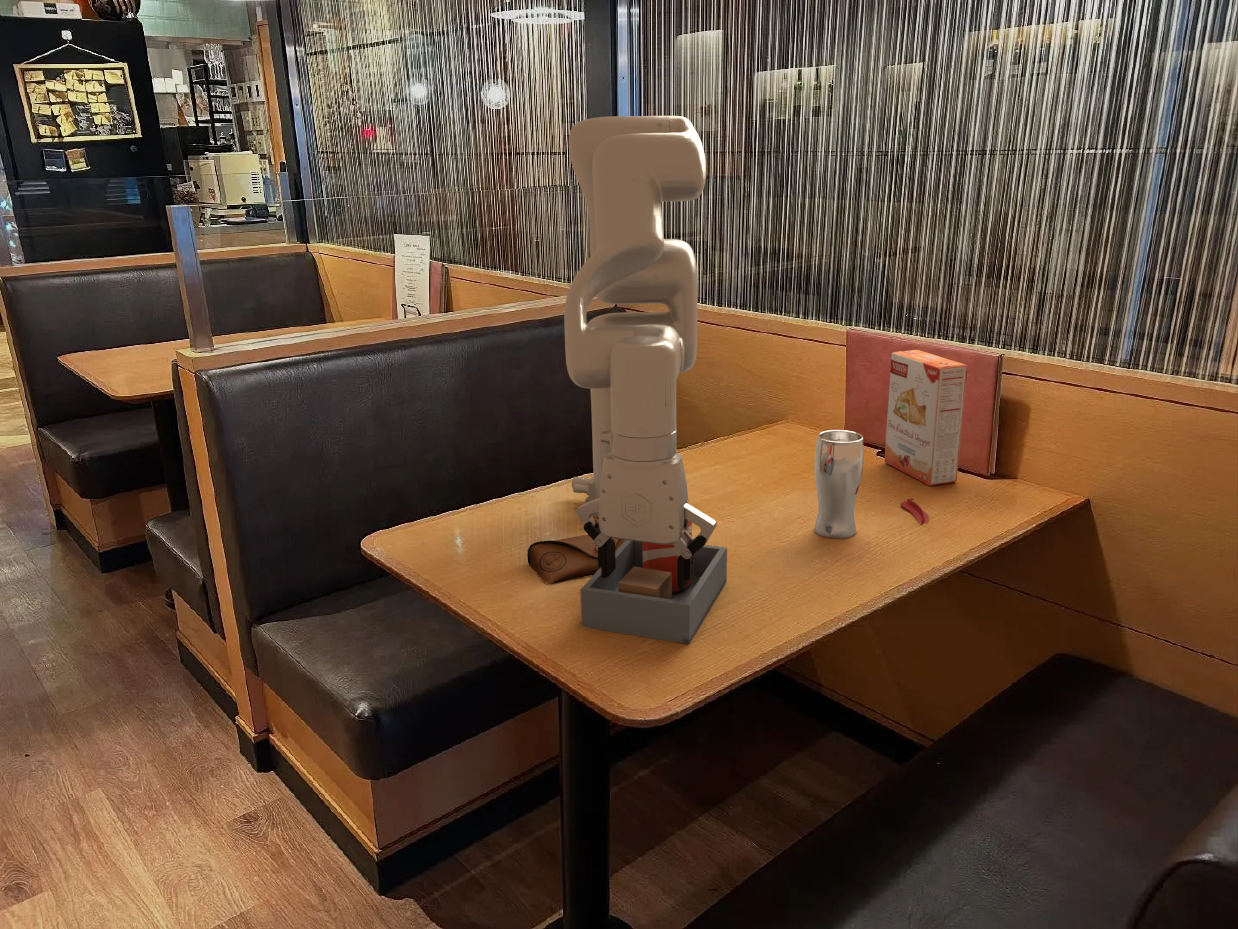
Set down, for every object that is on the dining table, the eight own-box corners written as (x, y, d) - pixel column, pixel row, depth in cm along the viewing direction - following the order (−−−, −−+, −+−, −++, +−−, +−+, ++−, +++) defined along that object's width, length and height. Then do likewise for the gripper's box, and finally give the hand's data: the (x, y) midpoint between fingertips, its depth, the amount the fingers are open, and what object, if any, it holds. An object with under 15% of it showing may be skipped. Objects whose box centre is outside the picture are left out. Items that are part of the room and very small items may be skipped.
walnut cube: (634, 602, 116) (634, 566, 115) (671, 609, 115) (671, 572, 113) (619, 620, 112) (618, 582, 111) (657, 627, 110) (657, 589, 109)
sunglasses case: (545, 586, 123) (535, 538, 124) (532, 592, 129) (523, 546, 130) (667, 563, 129) (657, 517, 130) (650, 570, 135) (640, 526, 137)
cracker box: (881, 463, 169) (889, 351, 163) (910, 459, 171) (919, 348, 165) (927, 487, 157) (938, 366, 150) (957, 483, 158) (969, 363, 152)
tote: (581, 626, 112) (580, 589, 110) (630, 568, 128) (630, 535, 126) (689, 644, 107) (689, 605, 106) (726, 582, 123) (727, 547, 121)
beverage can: (679, 572, 125) (679, 489, 121) (698, 591, 119) (698, 505, 115) (637, 579, 123) (635, 495, 119) (654, 599, 117) (653, 511, 113)
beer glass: (859, 541, 135) (866, 443, 130) (811, 538, 136) (815, 441, 132) (857, 524, 141) (863, 430, 137) (811, 521, 143) (815, 428, 138)
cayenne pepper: (901, 500, 152) (901, 489, 152) (930, 503, 151) (931, 491, 150) (896, 525, 142) (897, 514, 141) (928, 529, 140) (929, 517, 139)
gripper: (562, 447, 106) (568, 582, 112) (707, 460, 100) (706, 602, 106) (587, 429, 113) (591, 557, 118) (724, 441, 107) (722, 575, 112)
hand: (645, 578), depth 112 cm, fingers open, 9 cm apart
